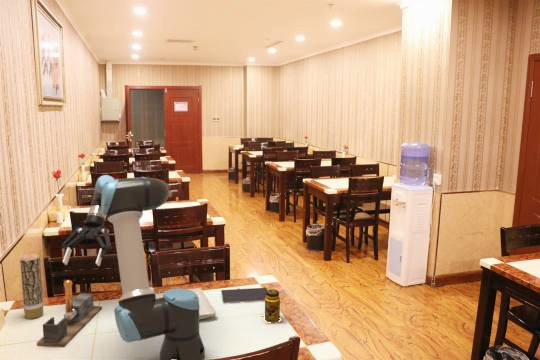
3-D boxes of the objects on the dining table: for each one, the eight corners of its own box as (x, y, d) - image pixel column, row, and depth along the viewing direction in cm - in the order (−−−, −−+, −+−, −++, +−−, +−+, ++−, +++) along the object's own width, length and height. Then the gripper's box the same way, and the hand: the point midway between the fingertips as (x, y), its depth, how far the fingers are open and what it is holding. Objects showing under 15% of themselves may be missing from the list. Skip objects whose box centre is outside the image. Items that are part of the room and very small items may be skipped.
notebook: (266, 290, 210) (221, 293, 206) (266, 287, 209) (221, 290, 206) (271, 302, 197) (223, 305, 194) (271, 298, 197) (223, 301, 193)
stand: (78, 307, 188) (77, 290, 186) (101, 308, 187) (101, 291, 186) (37, 345, 158) (35, 325, 156) (64, 347, 157) (63, 326, 156)
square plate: (138, 304, 193) (138, 295, 192) (200, 294, 204) (200, 286, 203) (147, 333, 168) (147, 323, 168) (217, 320, 179) (217, 311, 178)
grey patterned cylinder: (35, 320, 176) (31, 260, 172) (20, 318, 177) (16, 258, 173) (47, 312, 183) (43, 254, 179) (32, 311, 184) (28, 253, 180)
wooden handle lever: (85, 301, 186) (83, 265, 184) (93, 301, 186) (91, 265, 184) (64, 320, 169) (61, 281, 167) (72, 320, 169) (69, 281, 166)
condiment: (266, 324, 176) (266, 296, 174) (260, 315, 184) (260, 287, 182) (283, 322, 178) (284, 294, 176) (277, 313, 186) (277, 285, 184)
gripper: (127, 223, 193) (114, 269, 180) (71, 222, 194) (55, 266, 182) (121, 214, 187) (108, 261, 174) (64, 213, 188) (46, 258, 176)
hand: (81, 264), depth 178 cm, fingers open, 13 cm apart
